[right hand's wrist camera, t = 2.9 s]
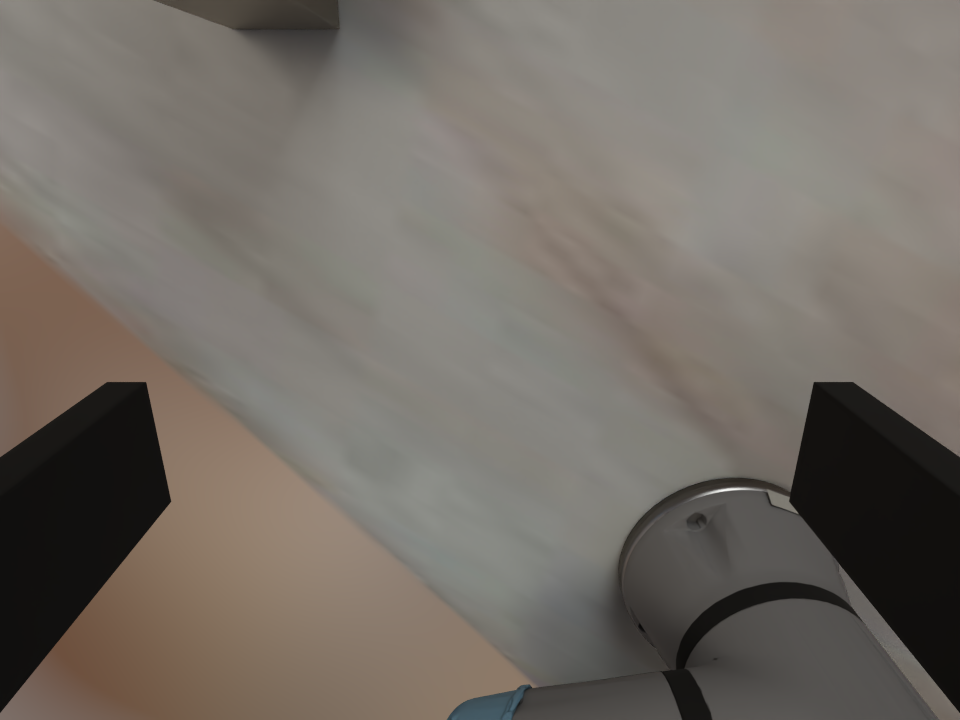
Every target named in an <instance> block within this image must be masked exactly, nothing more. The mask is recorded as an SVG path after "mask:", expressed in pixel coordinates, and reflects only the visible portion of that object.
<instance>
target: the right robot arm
mask: <svg viewBox="0 0 960 720" xmlns="http://www.w3.org/2000/svg"><path fill="white" fill-rule="evenodd" d="M170 502H171V499H170V494H169V489H168V484H167V480H166V475H165V470H164V465H163V461H162V456H161V451H160V446H159V441H158V437H157V432H156V427H155V422H154V418H153V413H152V408H151V404H150V399H149V394H148V389H147V384H146V382H107V383H105V384H104V385H102V386H101V387H100V388H98V389H97V390H95V391H94V392H92V393H91V394H90V395H88V396H87V397H85V398H84V399H82V400H81V401H80V402H78V403H77V404H75V405H74V406H73V407H71V408H70V409H68V410H67V411H65V412H64V413H63V414H61V415H60V416H58V417H57V418H56V419H54V420H53V421H51V422H50V423H48V424H47V425H46V426H44V427H43V428H41V429H40V430H38V431H37V432H36V433H34V434H33V435H31V436H30V437H28V438H27V439H26V440H24V441H23V442H21V443H20V444H19V445H17V446H16V447H14V448H13V449H11V450H10V451H9V452H7V453H6V454H4V455H3V456H1V457H0V712H1V711H2V710H3V709H4V707H5V706H6V705H7V704H8V703H9V701H10V700H11V699H12V698H13V696H14V695H15V694H16V693H17V691H18V690H19V689H20V688H21V686H22V685H23V684H24V683H25V682H26V680H27V679H28V678H29V677H30V675H31V674H32V673H33V672H34V670H35V669H36V668H37V667H38V666H39V664H40V663H41V662H42V661H43V659H44V658H45V657H46V656H47V654H48V653H49V652H50V651H51V649H52V648H53V647H54V646H55V644H56V643H57V642H58V641H59V640H60V638H61V637H62V636H63V635H64V633H65V632H66V631H67V630H68V628H69V627H70V626H71V625H72V623H73V622H74V621H75V620H76V619H77V617H78V616H79V615H80V614H81V612H82V611H83V610H84V609H85V607H86V606H87V605H88V604H89V602H90V601H91V600H92V599H93V598H94V596H95V595H96V594H97V593H98V591H99V590H100V589H101V588H102V586H103V585H104V584H105V583H106V581H107V580H108V579H109V578H110V577H111V575H112V574H113V573H114V572H115V570H116V569H117V568H118V567H119V565H120V564H121V563H122V562H123V560H124V559H125V558H126V557H127V556H128V554H129V553H130V552H131V550H132V549H133V548H134V547H135V546H136V544H137V543H138V542H139V541H140V539H141V538H142V537H143V536H144V534H145V533H146V532H147V531H148V530H149V528H150V527H151V526H152V525H153V523H154V522H155V521H156V520H157V518H158V517H159V516H160V515H161V513H162V512H163V511H164V510H165V509H166V507H167V506H168V505H169V504H170ZM838 563H839V564H840V565H841V567H842V568H843V569H844V570H845V572H846V573H847V574H848V575H849V577H850V578H851V579H852V580H853V581H854V583H855V584H856V585H857V586H858V588H859V589H860V590H861V591H862V593H863V594H864V595H865V596H866V598H867V599H868V600H869V601H870V602H871V604H872V605H873V606H874V607H875V609H876V610H877V611H878V612H879V614H880V615H881V616H882V617H883V619H884V620H885V621H886V622H887V623H888V625H889V626H890V627H891V628H892V630H893V631H894V632H895V633H896V635H897V636H898V637H899V638H900V640H901V641H902V642H903V643H904V644H905V646H906V647H907V648H908V649H909V651H910V652H911V653H912V654H913V656H914V657H915V658H916V659H917V661H918V662H919V663H920V664H921V666H922V667H923V668H924V669H925V670H926V672H927V673H928V674H929V675H930V677H931V678H932V679H933V680H934V682H935V683H936V684H937V685H938V687H939V688H940V689H941V690H942V691H943V693H944V694H945V695H946V696H947V698H948V699H949V700H950V701H951V703H952V704H953V705H954V706H955V708H956V709H957V710H958V711H959V712H960V457H959V456H957V455H956V454H954V453H953V452H951V451H950V450H949V449H947V448H946V447H944V446H943V445H941V444H940V443H939V442H937V441H936V440H934V439H933V438H932V437H930V436H929V435H927V434H926V433H924V432H923V431H922V430H920V429H919V428H917V427H916V426H914V425H913V424H912V423H910V422H909V421H907V420H906V419H905V418H903V417H902V416H900V415H899V414H897V413H896V412H895V411H893V410H892V409H890V408H889V407H887V406H886V405H885V404H883V403H882V402H880V401H879V400H878V399H876V398H875V397H873V396H872V395H870V394H869V393H868V392H866V391H865V390H863V389H862V388H860V387H859V386H858V385H856V384H855V383H853V382H814V384H813V389H812V394H811V399H810V403H809V408H808V413H807V418H806V422H805V427H804V432H803V437H802V441H801V446H800V451H799V456H798V461H797V465H796V470H795V475H794V480H793V484H792V489H791V493H790V492H789V491H787V490H785V489H783V488H781V487H779V486H776V485H774V484H771V483H767V482H764V481H759V480H754V479H745V478H726V479H717V480H711V481H706V482H702V483H698V484H695V485H692V486H689V487H687V488H685V489H682V490H680V491H678V492H676V493H674V494H672V495H670V496H668V497H667V498H665V499H664V500H662V501H661V502H659V503H658V504H657V505H655V506H654V507H653V508H652V509H650V510H649V511H648V512H647V513H646V514H645V515H644V516H643V517H642V518H641V519H640V520H639V522H638V523H637V524H636V525H635V527H634V528H633V530H632V531H631V533H630V534H629V536H628V538H627V540H626V542H625V544H624V547H623V549H622V552H621V556H620V561H619V584H620V588H621V592H622V596H623V599H624V602H625V606H626V608H627V611H628V613H629V615H630V617H631V619H632V620H633V622H634V624H635V625H636V627H637V629H638V630H639V631H640V633H641V634H642V635H643V636H644V637H645V639H646V640H647V641H648V642H649V643H650V644H651V645H652V646H654V647H655V648H656V649H657V651H658V653H659V654H660V656H661V657H662V659H663V660H664V662H665V663H666V664H667V666H668V667H669V668H670V669H671V670H670V671H663V672H662V671H658V672H651V673H644V674H637V675H630V676H624V677H617V678H610V679H603V680H595V681H587V682H579V683H571V684H563V685H555V686H547V687H539V688H532V687H531V686H530V685H521V686H520V687H519V688H518V689H517V690H514V691H509V692H504V693H499V694H494V695H489V696H483V697H479V698H473V699H470V700H467V701H465V702H463V703H462V704H460V705H459V706H458V707H457V708H456V709H455V710H454V711H453V712H452V713H451V714H450V716H449V717H448V719H447V720H939V719H938V718H937V717H936V715H935V714H934V713H933V711H932V710H931V709H930V708H929V706H928V705H927V704H926V702H925V701H924V700H923V699H922V697H921V696H920V695H919V693H918V692H917V691H916V689H915V688H914V687H913V686H912V684H911V683H910V682H909V680H908V679H907V678H906V677H905V675H904V674H903V673H902V671H901V670H900V669H899V668H898V666H897V665H896V664H895V662H894V661H893V660H892V659H891V657H890V656H889V655H888V653H887V652H886V651H885V650H884V648H883V647H882V646H881V644H880V643H879V642H878V641H877V639H876V638H875V637H874V635H873V634H872V633H871V632H870V630H869V629H868V628H867V627H866V625H865V624H864V623H863V621H862V620H861V619H860V617H859V616H858V615H857V613H856V612H855V611H854V609H853V608H852V607H851V604H850V600H849V597H848V594H847V590H846V587H845V584H844V582H843V580H842V577H841V575H840V574H839V566H838Z"/></svg>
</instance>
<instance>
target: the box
mask: <svg viewBox="0 0 960 720" xmlns="http://www.w3.org/2000/svg"><path fill="white" fill-rule="evenodd" d="M154 1H157V2H160V3H162V4H165V5H168V6H171V7H173V8H176V9H179V10H181V11H184V12H187V13H190V14H192V15H195V16H198V17H201V18H203V19H206V20H209V21H211V22H214V23H217V24H220V25H222V26H225V27H228V28H231V29H339V28H340V25H339V11H338V0H154Z"/></svg>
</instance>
